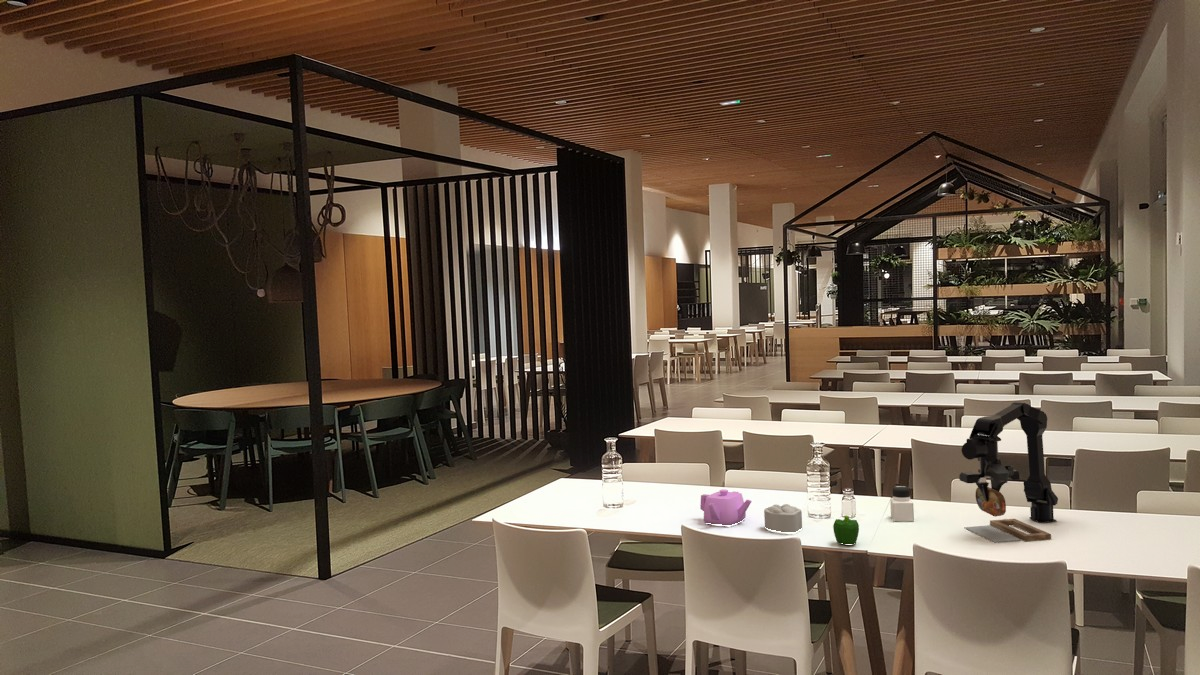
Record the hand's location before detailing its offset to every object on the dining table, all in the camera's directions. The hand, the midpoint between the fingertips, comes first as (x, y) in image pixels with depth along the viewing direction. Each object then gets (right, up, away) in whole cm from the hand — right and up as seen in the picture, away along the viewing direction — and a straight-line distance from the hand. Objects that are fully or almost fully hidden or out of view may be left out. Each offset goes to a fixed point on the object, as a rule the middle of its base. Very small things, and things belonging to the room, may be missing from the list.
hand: (990, 501), depth 287 cm
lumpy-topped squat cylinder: (-66, -14, +20) cm, 71 cm away
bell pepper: (-49, -14, -2) cm, 51 cm away
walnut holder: (+10, -11, +1) cm, 15 cm away
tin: (+1, -4, 0) cm, 4 cm away
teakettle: (-85, -15, +34) cm, 93 cm away
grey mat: (0, -11, 0) cm, 11 cm away
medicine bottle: (-21, -12, +26) cm, 35 cm away
